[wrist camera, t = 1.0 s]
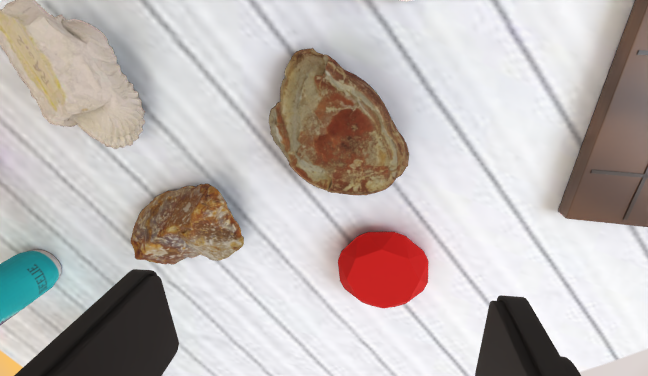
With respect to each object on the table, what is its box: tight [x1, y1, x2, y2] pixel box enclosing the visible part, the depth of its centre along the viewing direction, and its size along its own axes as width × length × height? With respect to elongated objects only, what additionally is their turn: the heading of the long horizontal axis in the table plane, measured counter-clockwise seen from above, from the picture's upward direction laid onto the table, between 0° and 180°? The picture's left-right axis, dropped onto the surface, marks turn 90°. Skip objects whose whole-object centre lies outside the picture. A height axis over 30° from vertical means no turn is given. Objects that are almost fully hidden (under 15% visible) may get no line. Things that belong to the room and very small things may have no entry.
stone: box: [269, 48, 409, 195], centre depth 29 cm, size 13×10×3 cm
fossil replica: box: [0, 0, 145, 149], centre depth 28 cm, size 12×8×10 cm
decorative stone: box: [131, 184, 244, 264], centre depth 35 cm, size 10×4×15 cm
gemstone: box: [338, 232, 428, 308], centre depth 34 cm, size 9×9×3 cm
